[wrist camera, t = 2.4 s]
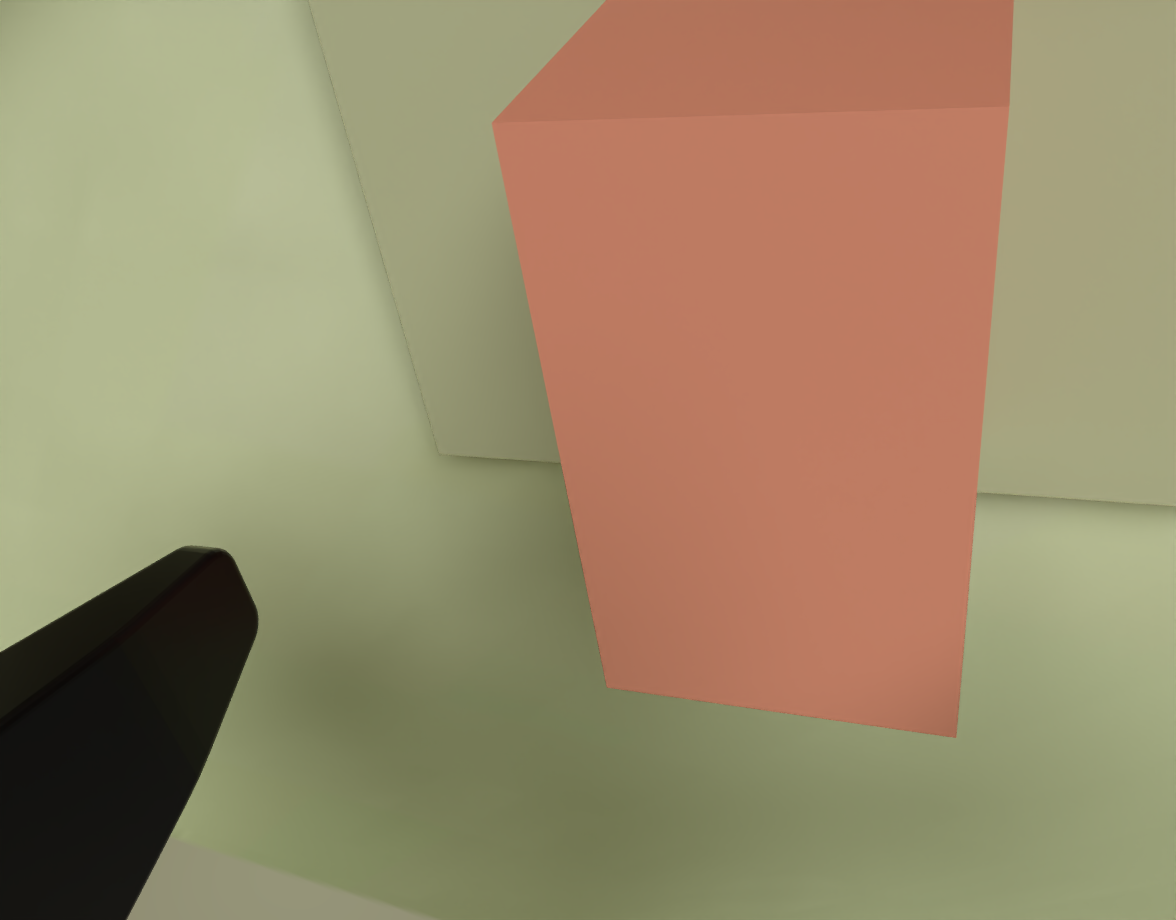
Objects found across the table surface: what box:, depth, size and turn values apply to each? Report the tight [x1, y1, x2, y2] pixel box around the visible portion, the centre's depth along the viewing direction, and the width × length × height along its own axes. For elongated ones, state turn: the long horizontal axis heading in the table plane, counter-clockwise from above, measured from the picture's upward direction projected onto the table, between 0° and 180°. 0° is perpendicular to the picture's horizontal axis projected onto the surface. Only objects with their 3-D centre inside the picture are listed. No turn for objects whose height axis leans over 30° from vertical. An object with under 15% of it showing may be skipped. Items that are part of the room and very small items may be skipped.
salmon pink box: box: [492, 0, 1014, 738], centre depth 13 cm, size 7×4×6 cm, turn 9°
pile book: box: [308, 0, 1176, 506], centre depth 16 cm, size 9×13×2 cm
